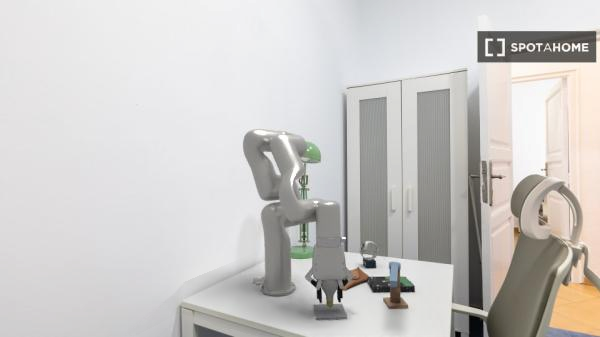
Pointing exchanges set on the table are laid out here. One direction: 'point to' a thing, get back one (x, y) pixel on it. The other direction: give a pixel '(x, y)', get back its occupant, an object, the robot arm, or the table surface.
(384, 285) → the disk drive
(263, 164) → the robot arm
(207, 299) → the table surface
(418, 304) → the table surface
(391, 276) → the latch arm
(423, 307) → the table surface
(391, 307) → the post
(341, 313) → the mat
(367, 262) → the watch
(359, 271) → the sunglasses case
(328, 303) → the light bulb
